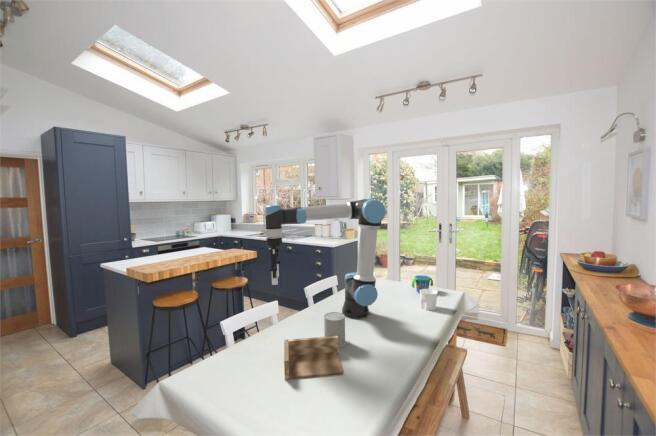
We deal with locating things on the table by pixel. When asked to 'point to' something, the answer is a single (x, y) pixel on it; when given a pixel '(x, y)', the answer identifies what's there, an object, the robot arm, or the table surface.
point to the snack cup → (422, 282)
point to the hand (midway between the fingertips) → (275, 280)
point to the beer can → (335, 326)
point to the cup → (428, 299)
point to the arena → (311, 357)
